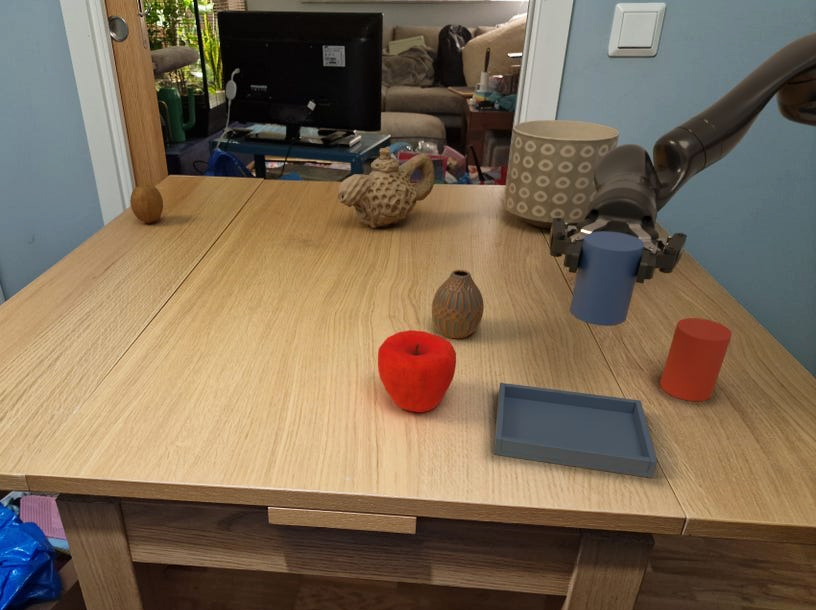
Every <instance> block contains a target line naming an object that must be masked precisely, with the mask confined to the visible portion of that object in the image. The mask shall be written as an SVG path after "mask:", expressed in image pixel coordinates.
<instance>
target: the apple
mask: <svg viewBox="0 0 816 610" xmlns="http://www.w3.org/2000/svg"><path fill="white" fill-rule="evenodd" d="M456 366H457V352H456V350H455V348H454V346H453V344H452V343H451V341H450V340H447V339H445V338H444V337H442V336H440V335H436V334H433V333H430V332H427V331H424V330H412V329H409V330H404V331H403V330H402V331H398V332H396V333H394V334H392V335H390V336H387V337H386V339H385V340H384V341H383V342H382V344H381V345H380V346H379V347H378V352H377V370H378V376H379V379H380V382H381V383H382V385H383V388H384V389H385V391H386V393H387V394H388V395H389V398H390V399H391V400H392V401H393V403H394V404H395V405H396V406H397V407H399V408H400V409H403V410H406V411H409V412H415V413H425V412H430V411H432V410H433V409H435V408H436V407H437V406H438V405H439V404H440V403H441V401H442V400H443V398H444V397H445V395H446V393H447V392H448V390H449V388H450V386H451V384H452V381H453V379H454V376H455V374H456V373H455V372H456Z"/></svg>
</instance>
